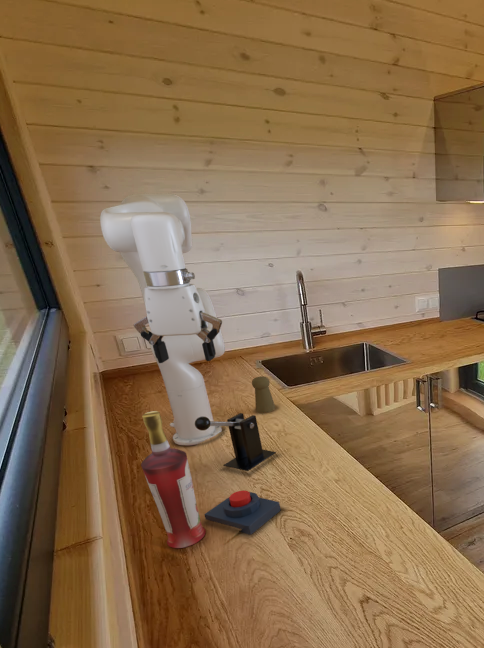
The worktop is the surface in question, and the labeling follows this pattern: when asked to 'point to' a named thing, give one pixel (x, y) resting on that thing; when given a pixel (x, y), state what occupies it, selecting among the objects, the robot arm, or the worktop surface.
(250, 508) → the switch box
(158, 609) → the worktop surface
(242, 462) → the switch bracket
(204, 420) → the switch lever
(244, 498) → the switch button
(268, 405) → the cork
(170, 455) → the liquor
